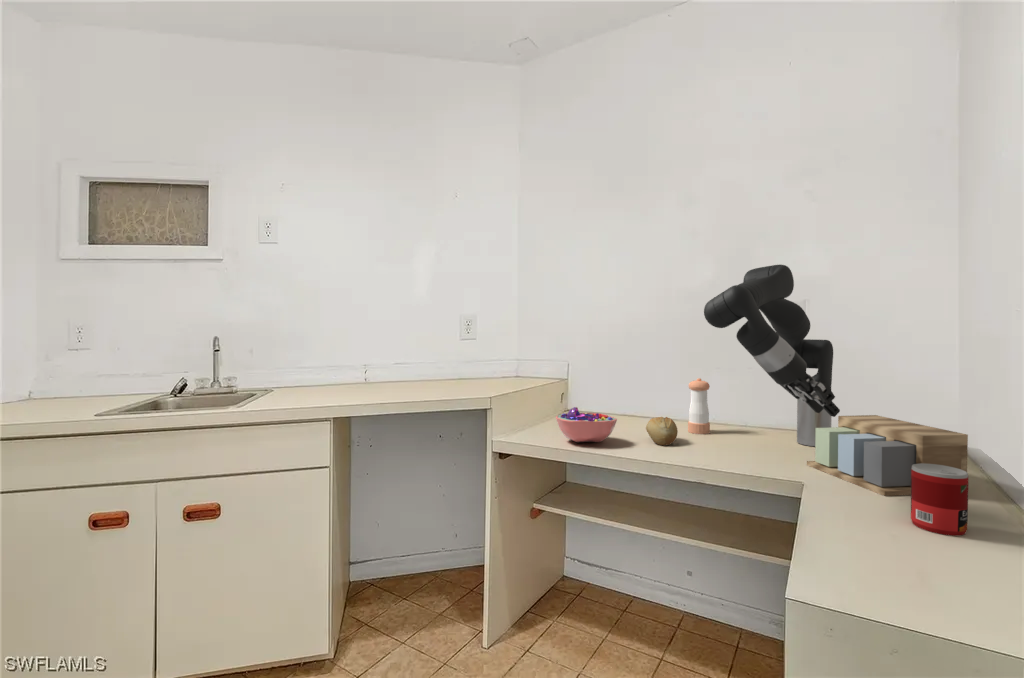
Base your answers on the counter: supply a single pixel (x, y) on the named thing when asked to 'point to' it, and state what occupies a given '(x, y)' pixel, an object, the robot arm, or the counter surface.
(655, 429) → the bread roll
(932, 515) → the canned food
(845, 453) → the blue-grey key
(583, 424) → the cell model
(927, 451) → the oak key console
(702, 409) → the salt shaker
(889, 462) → the charcoal key
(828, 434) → the sage key
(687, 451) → the counter surface
